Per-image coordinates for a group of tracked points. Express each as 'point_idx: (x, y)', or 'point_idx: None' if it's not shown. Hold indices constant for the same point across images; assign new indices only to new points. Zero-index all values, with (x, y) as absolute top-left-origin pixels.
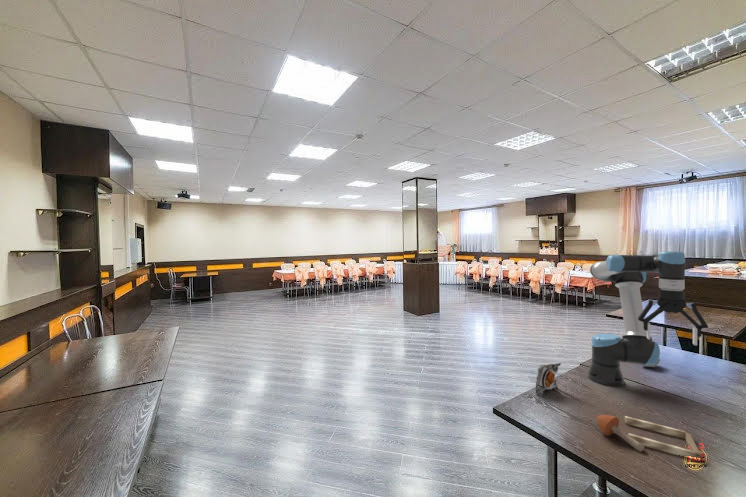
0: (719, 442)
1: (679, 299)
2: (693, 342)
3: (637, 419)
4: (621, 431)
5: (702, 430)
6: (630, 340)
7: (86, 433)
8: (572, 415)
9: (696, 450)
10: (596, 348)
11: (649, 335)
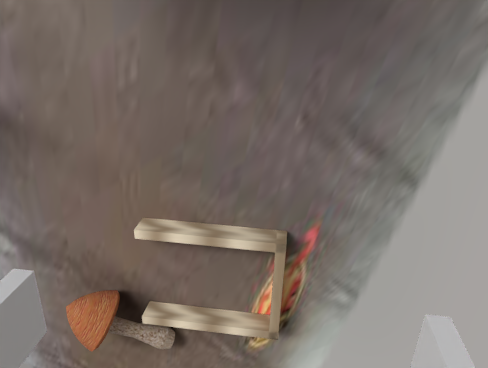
0: (365, 204)
1: None
2: (422, 363)
3: (165, 236)
4: (124, 335)
5: (347, 148)
6: None
7: None
8: (22, 239)
9: (274, 326)
10: None
11: (13, 364)
